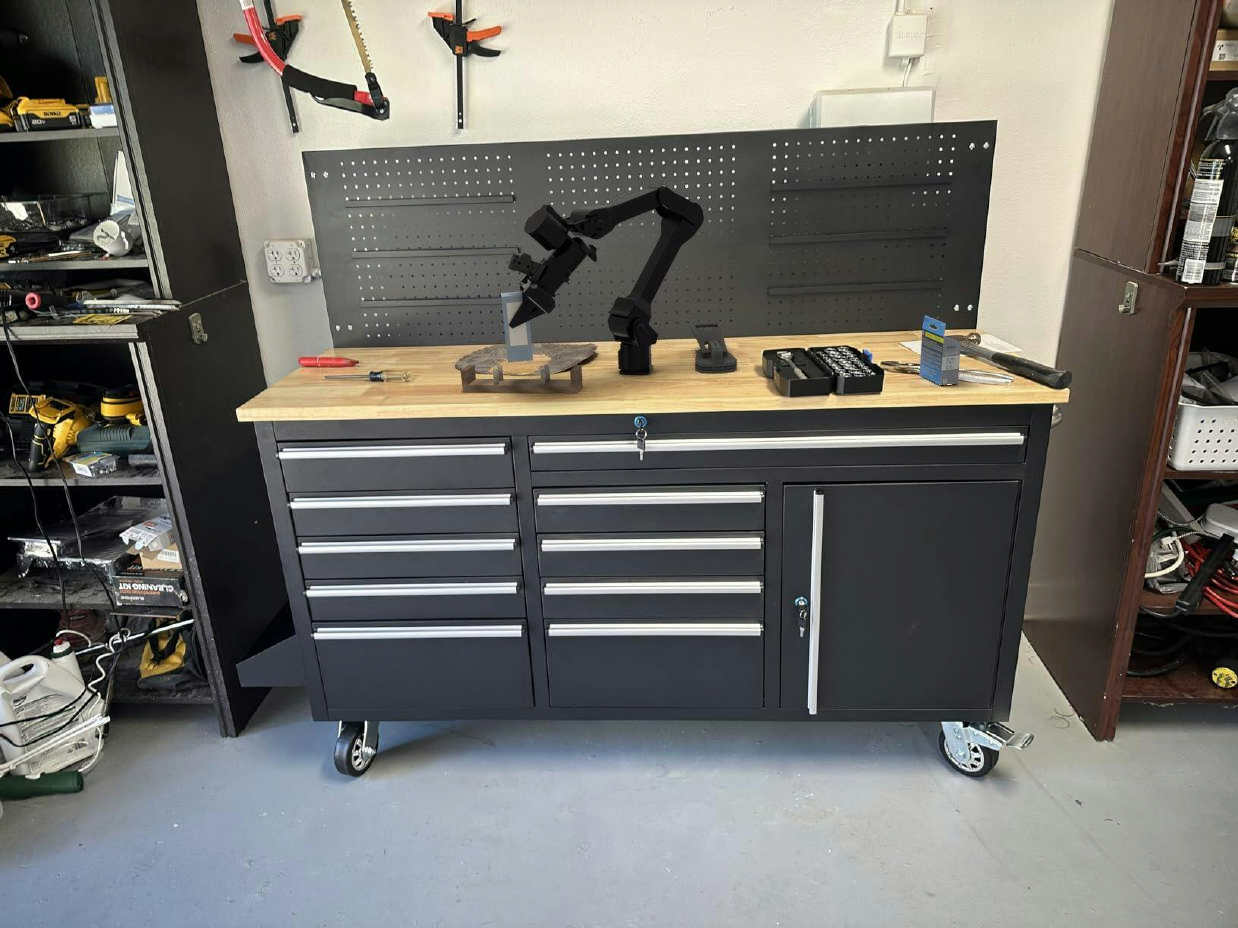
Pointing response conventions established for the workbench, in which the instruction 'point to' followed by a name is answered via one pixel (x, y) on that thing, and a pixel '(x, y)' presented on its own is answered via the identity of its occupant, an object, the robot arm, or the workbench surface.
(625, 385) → the workbench surface
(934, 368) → the label tape box
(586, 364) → the workbench surface
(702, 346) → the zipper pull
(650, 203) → the robot arm
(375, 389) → the workbench surface
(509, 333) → the frame block
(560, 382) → the rail
